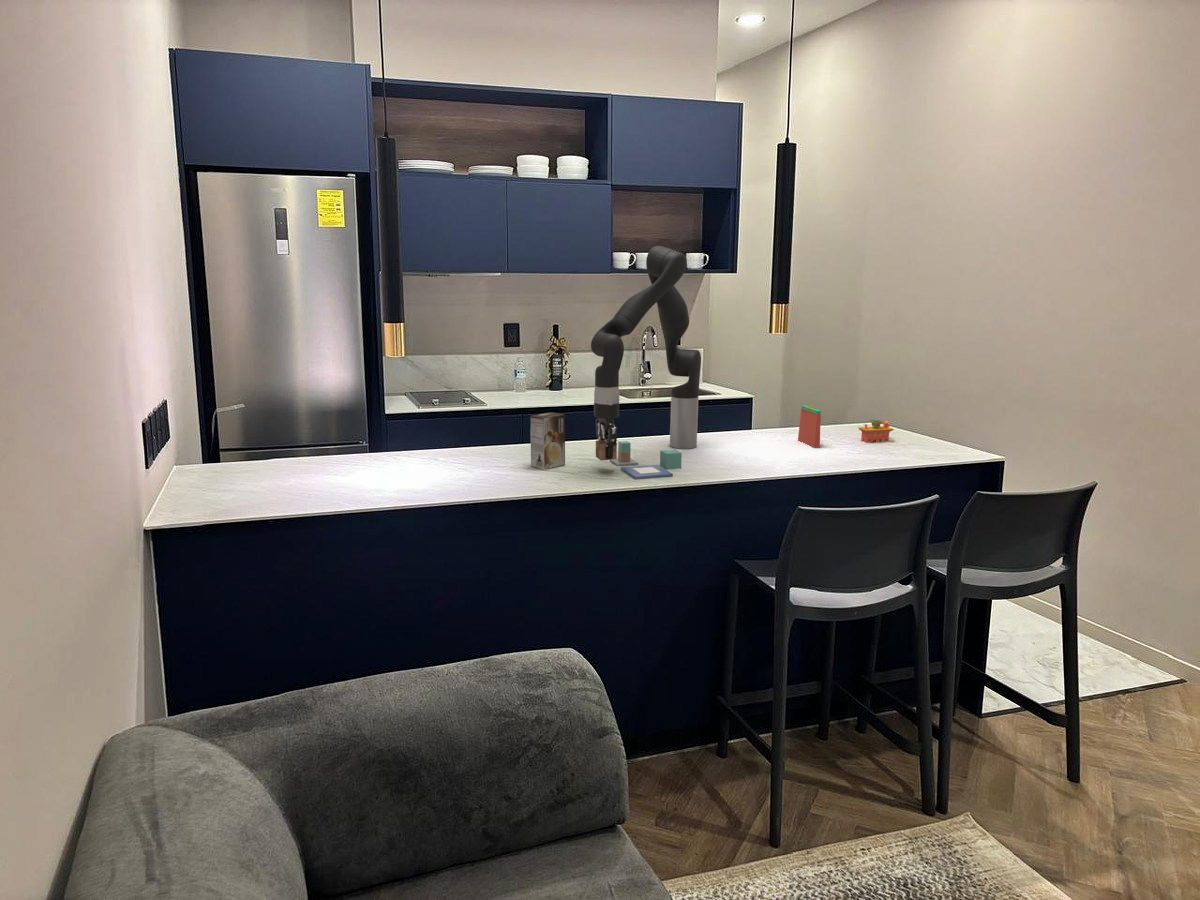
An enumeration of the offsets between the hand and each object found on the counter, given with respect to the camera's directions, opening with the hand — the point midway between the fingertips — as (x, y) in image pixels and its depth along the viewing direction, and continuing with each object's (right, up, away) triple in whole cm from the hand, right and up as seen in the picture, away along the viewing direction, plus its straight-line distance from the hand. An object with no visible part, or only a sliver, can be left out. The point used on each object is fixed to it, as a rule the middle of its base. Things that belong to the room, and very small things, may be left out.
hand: (606, 456), depth 263 cm
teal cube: (+20, -3, +7) cm, 21 cm away
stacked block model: (+6, -2, +12) cm, 13 cm away
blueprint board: (+12, -5, -1) cm, 13 cm away
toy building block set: (+87, +4, +46) cm, 99 cm away
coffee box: (-18, -3, +7) cm, 20 cm away
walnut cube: (0, -1, 0) cm, 1 cm away
